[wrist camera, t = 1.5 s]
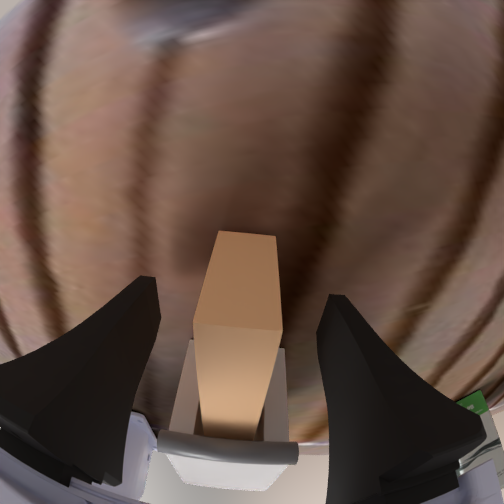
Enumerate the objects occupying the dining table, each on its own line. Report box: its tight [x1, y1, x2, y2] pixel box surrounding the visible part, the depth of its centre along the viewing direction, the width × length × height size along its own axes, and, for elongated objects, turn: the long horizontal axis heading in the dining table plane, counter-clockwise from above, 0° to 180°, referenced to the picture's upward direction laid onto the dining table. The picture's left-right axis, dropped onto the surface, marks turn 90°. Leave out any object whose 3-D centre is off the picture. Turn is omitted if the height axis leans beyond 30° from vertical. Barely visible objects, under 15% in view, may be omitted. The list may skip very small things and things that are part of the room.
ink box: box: [456, 390, 504, 489], centre depth 16 cm, size 9×5×12 cm, turn 21°
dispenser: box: [157, 339, 299, 491], centre depth 13 cm, size 8×5×6 cm
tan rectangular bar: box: [193, 231, 283, 441], centre depth 11 cm, size 13×2×4 cm, turn 175°
